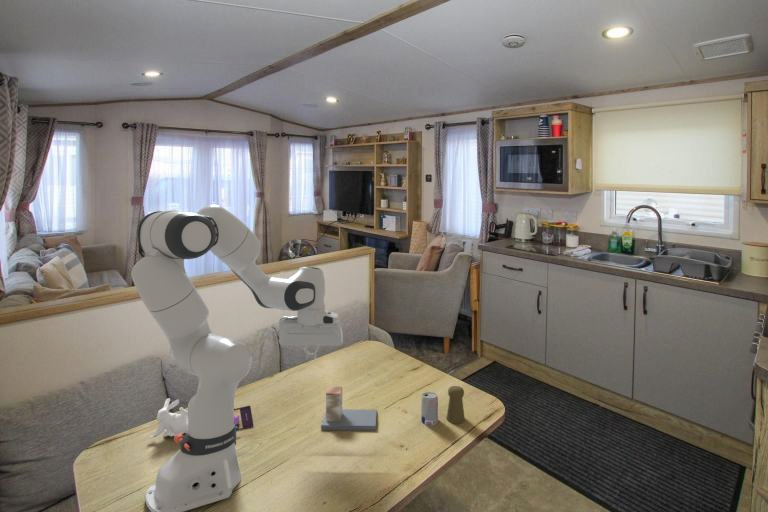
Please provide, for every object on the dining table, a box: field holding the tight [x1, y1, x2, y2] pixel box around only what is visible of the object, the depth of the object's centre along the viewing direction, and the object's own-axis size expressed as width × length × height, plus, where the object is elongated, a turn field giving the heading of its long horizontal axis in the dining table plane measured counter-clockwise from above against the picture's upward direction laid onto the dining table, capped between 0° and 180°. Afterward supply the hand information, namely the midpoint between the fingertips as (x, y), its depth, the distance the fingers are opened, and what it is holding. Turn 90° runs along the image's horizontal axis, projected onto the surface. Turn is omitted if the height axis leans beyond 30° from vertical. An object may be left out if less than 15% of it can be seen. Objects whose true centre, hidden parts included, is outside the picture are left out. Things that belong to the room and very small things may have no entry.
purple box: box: [234, 405, 254, 431], centre depth 135 cm, size 7×5×9 cm
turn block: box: [325, 386, 343, 421], centre depth 138 cm, size 4×6×9 cm
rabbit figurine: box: [148, 397, 188, 439], centre depth 131 cm, size 12×8×10 cm, turn 99°
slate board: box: [320, 408, 378, 431], centre depth 138 cm, size 17×12×2 cm
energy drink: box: [420, 391, 439, 427], centre depth 139 cm, size 5×5×12 cm
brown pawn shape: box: [446, 385, 466, 425], centre depth 139 cm, size 6×6×11 cm
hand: (311, 359), depth 137 cm, fingers closed
